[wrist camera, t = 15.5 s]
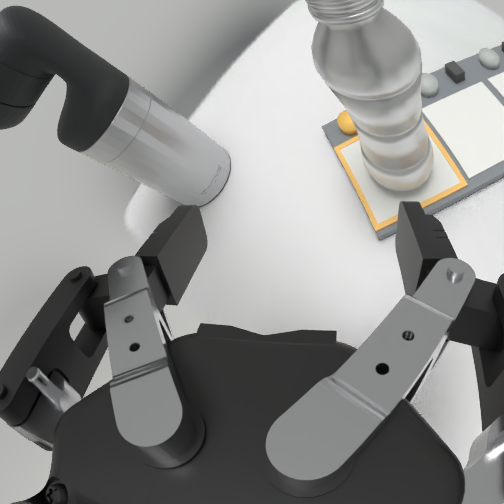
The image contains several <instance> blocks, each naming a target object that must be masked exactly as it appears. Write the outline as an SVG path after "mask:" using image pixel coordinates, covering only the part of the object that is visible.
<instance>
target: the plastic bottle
mask: <svg viewBox="0 0 504 504" xmlns="http://www.w3.org/2000/svg"><path fill="white" fill-rule="evenodd" d="M306 2H307V4H308V9H309V11H310V13H311V15H312V17H313V18H314V19H315V20H317V21H319V22H318V24H317V27H316V29H315V33H314V37H313V42H312V56H313V62H314V65H315V68H316V70H317V72H318V73H319V74H320V76H321V77H322V79H323V80H324V82H325V83H326V84H327V85H328V87H329V88H330V89H331V90H332V92H333V93H334V94H335V95H336V97H337V98H338V99H339V101H340V102H341V103H342V104H343V106H344V107H345V109H346V111H347V112H348V114H349V116H350V118H351V119H352V121H353V123H354V125H355V127H356V130H357V133H358V137H359V140H360V147H361V155H362V159H363V163H364V166H365V167H366V169H367V171H368V172H369V173H370V175H371V176H372V177H373V178H374V179H375V181H376V182H378V183H379V184H380V185H381V186H383V187H385V188H387V189H390V190H393V191H399V192H402V191H410V190H414V189H416V188H418V187H420V186H421V185H422V184H424V182H425V181H426V180H427V179H428V177H429V175H430V173H431V170H432V166H433V163H434V152H433V148H432V144H431V141H430V139H429V136H428V134H427V132H426V128H425V123H424V120H423V115H422V100H421V77H422V61H421V52H420V47H419V44H418V42H417V40H416V39H415V37H414V35H413V34H412V32H411V31H410V30H409V28H408V27H407V26H406V25H405V24H404V23H403V22H402V21H400V20H399V19H398V18H397V17H396V16H394V15H393V14H392V13H390V12H389V11H387V10H386V9H384V8H383V5H384V0H306Z"/></svg>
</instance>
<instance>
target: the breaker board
mask: <svg viewBox="0 0 504 504" xmlns="http://www.w3.org/2000/svg"><path fill="white" fill-rule="evenodd" d="M421 100H422V115H423V120H424V123H425V128H426V132H427V134H428V136H429V139H430V141H431V144H432V148H433V152H434V163H433V166H432V170H431V173H430V175H429V177H428V179H427V180H426V181H425V182H424V184H422V185H421V186H420V187H418V188H416V189H414V190H410V191H402V192H399V191H393V190H390V189H387V188H385V187H383V186H381V185H380V184H379V183H378V182H376V181H375V179H374V178H373V177H372V176H371V175H370V173H369V172H368V171H367V169H366V167H365V166H364V163H363V159H362V155H361V147H360V140H359V137H358V133H357V130H356V127H355V125H354V123H353V121H352V119H351V118H350V116H349V114H348V112H347V111H346V110H345V111H343V112H341V113H340V114H339V116H338V118H337V119H335V120H334V121H332V122H330V123H328V124H326V125H324V126H322V129H323V130H324V132H325V134H326V135H327V137H328V139H329V141H330V143H331V144H332V146H333V148H334V150H335V152H336V153H337V155H338V157H339V159H340V161H341V163H342V164H343V166H344V168H345V170H346V172H347V174H348V176H349V178H350V180H351V182H352V184H353V186H354V188H355V189H356V191H357V193H358V195H359V198H360V200H361V202H362V204H363V206H364V208H365V210H366V212H367V214H368V216H369V218H370V220H371V223H372V225H373V227H374V229H375V231H376V233H377V236H378V238H379V240H382V239H384V238H386V237H388V236H390V235H392V234H394V233H396V229H397V220H398V210H399V203H400V201H418V202H420V204H421V206H422V208H423V210H424V213H425V214H430V215H433V214H434V213H436V212H438V211H440V210H442V209H444V208H446V207H448V206H450V205H452V204H454V203H456V202H458V201H460V200H462V199H463V198H465V197H467V196H469V195H471V194H473V193H475V192H477V191H479V190H480V189H482V188H484V187H486V186H488V185H490V184H491V183H493V182H495V181H497V180H499V179H501V178H502V177H504V42H502V45H500V46H498V47H495V48H492V49H488V48H483V49H481V50H480V51H479V54H476V55H474V56H471V57H469V58H466V59H464V60H461V61H459V62H455V61H452V62H449V63H447V64H445V67H444V68H442V69H440V70H437V71H435V72H433V73H430V74H427V73H423V74H422V77H421Z"/></svg>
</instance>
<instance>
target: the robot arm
mask: <svg viewBox="0 0 504 504" xmlns="http://www.w3.org/2000/svg"><path fill="white" fill-rule="evenodd" d="M55 74H57V75H58V76H60V77H61V78H62V79H63V80H64V81H65V82H66V83H67V92H66V99H65V103H64V107H63V109H62V112H61V115H60V119H59V123H58V129H57V132H58V133H57V134H58V139H59V141H60V142H61V143H62V144H64V145H66V146H67V147H69V148H71V149H73V150H76V151H78V152H80V153H82V154H84V155H86V156H88V157H90V158H92V159H94V160H96V161H98V162H100V163H103V164H104V165H107V166H108V167H110V168H112V169H114V170H116V171H118V172H120V173H123V174H124V175H126V176H128V177H130V178H132V179H134V180H136V181H138V182H140V183H142V184H144V185H146V186H148V187H150V188H152V189H154V190H156V191H158V192H160V193H162V194H164V195H165V196H167V197H169V198H171V199H173V200H175V201H177V202H179V203H181V204H183V205H184V206H178V207H177V209H176V210H175V211H174V212H173V214H172V215H171V216H170V217H169V218H167V219H166V220H165V221H163V222H162V223H160V224H159V225H158V226H157V228H156V229H155V230H154V231H153V233H152V234H151V235H150V237H149V239H147V240H146V242H145V243H144V244H143V246H142V247H141V248H140V249H139V251H138V252H137V254H136V255H135V256H128V257H125V258H122V259H120V260H118V261H117V262H115V263H114V264H113V265H112V266H111V267H110V268H109V270H108V274H104V275H99V276H94V275H93V273H92V271H91V269H90V268H89V267H87V266H83V267H79V268H76V269H74V270H72V271H71V272H69V273H68V274H67V275H66V276H65V277H64V279H63V280H62V281H61V282H60V284H59V285H58V286H57V288H56V289H55V291H54V292H53V293H52V294H51V296H50V297H49V298H48V300H47V301H46V303H45V304H44V305H43V307H42V308H41V310H40V311H39V312H38V314H37V315H36V317H35V318H34V319H33V321H32V322H31V324H30V325H29V327H28V328H27V330H26V331H25V333H24V334H23V336H22V337H21V339H20V341H19V342H18V344H17V345H16V347H15V348H14V350H13V351H12V353H11V355H10V356H9V358H8V359H7V361H6V363H5V364H4V366H3V368H2V369H1V371H0V417H1V418H2V419H3V420H4V421H6V423H7V424H8V425H9V426H10V427H12V428H13V429H14V430H16V431H17V432H18V433H20V434H21V435H22V436H24V437H25V438H27V439H28V440H30V441H32V442H34V443H35V444H37V445H39V446H40V447H41V448H43V449H45V450H47V451H53V453H52V464H51V470H50V475H49V479H48V481H47V483H46V485H45V487H44V488H43V490H41V491H40V492H39V493H38V494H36V495H35V496H33V497H31V498H29V499H27V500H24V501H19V502H15V503H12V504H504V274H502V275H501V276H500V277H499V279H498V282H497V284H495V283H491V282H487V281H483V280H480V279H477V278H475V277H476V276H475V272H474V270H473V269H472V268H471V266H469V265H468V264H467V263H465V262H464V261H462V260H459V259H458V258H457V256H456V253H455V251H454V249H453V247H452V245H451V243H450V241H449V239H448V236H447V234H446V232H444V228H443V226H442V224H441V222H440V221H439V220H437V219H436V218H435V217H434V216H433V215H430V214H425V213H424V210H423V208H422V206H421V204H420V202H418V201H400V203H399V210H398V220H397V229H396V240H395V244H396V253H397V257H398V262H399V266H400V270H401V275H402V279H403V284H404V289H405V293H406V295H405V296H404V297H403V298H402V299H401V300H400V301H399V303H398V304H397V305H396V306H395V307H394V309H393V310H392V311H391V312H390V313H389V315H388V316H387V317H386V318H385V319H384V320H383V322H382V323H381V324H380V325H379V326H378V327H377V329H376V330H375V331H374V332H373V333H372V334H371V335H370V336H369V338H368V339H367V340H366V341H365V342H364V343H363V344H362V345H361V346H360V347H359V348H358V349H356V348H354V347H352V346H350V345H347V344H344V343H341V342H337V341H336V332H337V331H321V330H297V331H291V332H285V333H278V334H271V335H260V334H257V333H253V332H250V331H247V330H243V329H240V328H237V327H233V326H227V325H215V324H204V323H200V326H199V328H198V331H197V333H193V334H189V335H185V336H181V337H178V338H176V339H174V336H173V333H172V330H171V328H170V325H169V322H168V320H167V316H166V313H165V311H164V309H163V308H164V306H165V304H166V305H178V303H179V301H180V299H181V297H182V295H183V293H184V292H185V290H186V288H187V286H188V284H189V282H190V280H191V278H192V276H193V274H194V272H195V270H196V269H197V267H198V265H199V263H200V261H201V259H202V257H203V255H204V254H205V252H206V249H207V235H206V232H205V228H204V224H203V221H202V217H201V213H200V210H199V206H202V205H204V204H207V203H208V202H209V201H211V200H212V199H213V198H214V197H215V196H216V195H217V194H218V193H219V192H220V191H221V189H222V188H223V186H224V185H225V183H226V181H227V178H228V175H229V171H230V159H229V155H228V153H227V152H226V151H225V150H224V149H223V148H222V147H221V146H220V145H218V144H217V143H216V142H215V141H213V140H212V139H211V138H210V137H208V136H207V135H206V134H205V133H204V132H202V131H201V130H200V129H198V128H197V127H196V126H195V125H193V124H192V123H191V122H189V121H188V120H187V119H185V118H184V117H183V116H182V115H180V114H179V113H178V112H176V111H175V110H174V109H172V108H171V107H170V106H168V105H167V104H166V103H164V102H163V101H162V100H160V99H159V98H158V97H156V96H155V95H154V94H152V93H151V92H150V91H148V90H147V89H145V88H144V87H142V86H141V85H140V84H138V83H137V82H135V81H134V80H133V79H131V78H130V77H128V76H127V75H126V74H124V73H123V72H121V71H120V70H118V69H117V68H115V67H114V66H113V65H111V64H110V63H108V62H107V61H106V60H104V59H103V58H101V57H100V56H98V55H97V54H95V53H94V52H92V51H91V50H90V49H88V48H87V47H85V46H84V45H83V44H81V43H79V42H78V41H77V40H76V39H74V38H73V37H72V36H70V35H69V34H67V33H66V32H65V31H64V30H62V29H61V28H60V27H58V26H57V25H56V24H54V23H53V22H51V21H50V20H48V19H47V18H45V17H44V16H42V15H41V14H39V13H37V12H35V11H33V10H31V9H29V8H26V7H22V6H10V7H7V8H5V9H3V10H2V11H1V12H0V129H7V128H11V127H14V126H16V125H18V124H19V123H20V122H22V121H23V120H24V119H25V118H26V116H27V115H28V114H29V112H30V111H31V109H32V108H33V107H34V105H35V103H36V102H37V100H38V99H39V97H40V96H41V94H42V93H43V91H44V90H45V88H46V87H47V85H48V84H49V82H50V81H51V79H52V78H53V77H54V75H55ZM78 312H79V314H80V315H81V317H82V318H83V320H84V321H85V324H84V326H83V327H82V329H81V331H80V332H79V334H78V336H77V337H76V339H75V341H73V339H72V338H71V336H70V333H69V328H70V325H71V323H72V321H73V320H74V318H75V317H76V315H77V314H78ZM450 340H451V341H455V342H459V343H463V344H467V345H471V347H472V353H473V358H474V364H475V370H476V376H477V383H478V391H479V399H480V408H481V419H482V433H481V434H480V435H479V436H478V437H477V438H476V439H475V440H474V442H473V443H472V446H471V449H470V454H469V460H468V463H467V465H466V467H465V468H464V470H463V468H462V466H461V463H460V461H459V460H458V458H457V457H456V455H455V454H454V453H453V452H452V451H451V450H450V448H449V447H448V446H447V445H446V444H445V443H444V441H443V440H442V439H441V438H440V437H439V436H438V434H437V433H436V432H435V431H434V430H433V429H432V427H431V426H430V425H429V424H428V423H427V422H426V421H425V419H424V418H423V417H422V416H421V415H420V414H419V413H418V411H417V410H416V409H415V408H414V407H413V406H412V405H411V403H412V401H413V400H414V398H415V397H416V395H417V394H418V392H419V391H420V389H421V388H422V386H423V384H424V383H425V381H426V379H427V378H428V376H429V375H430V373H431V372H432V370H433V369H434V367H435V365H436V364H437V362H438V361H439V359H440V357H441V356H442V354H443V352H444V351H445V349H446V347H447V345H448V344H449V342H450ZM107 347H109V355H110V362H111V369H112V375H113V379H112V380H111V381H109V382H108V383H106V384H105V385H103V386H102V387H100V388H98V389H97V390H95V391H94V392H92V393H91V394H89V395H88V396H86V397H85V398H83V396H84V394H85V392H86V390H87V388H88V385H89V384H90V381H91V379H92V377H93V375H94V373H95V371H96V369H97V367H98V365H99V363H100V361H101V359H102V357H103V355H104V353H105V351H106V350H107ZM82 398H83V399H82Z"/></svg>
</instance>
